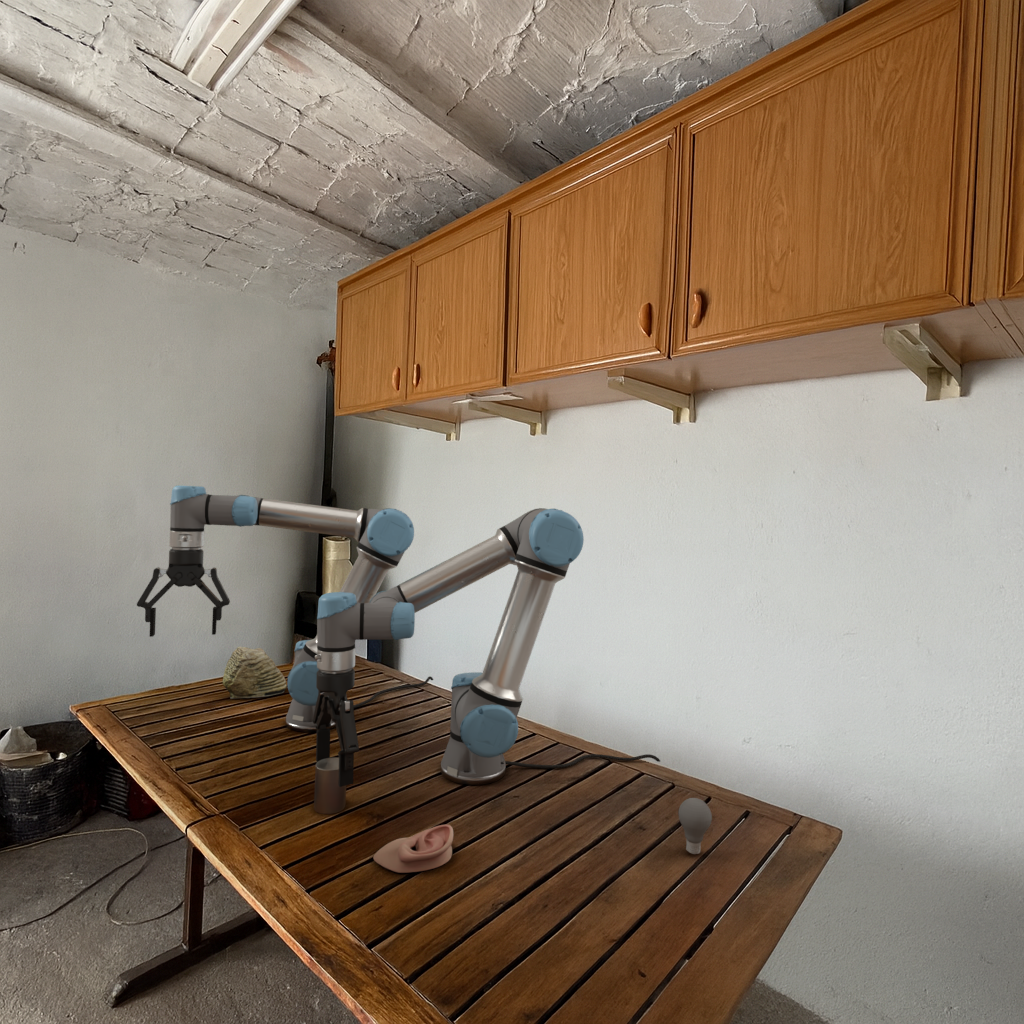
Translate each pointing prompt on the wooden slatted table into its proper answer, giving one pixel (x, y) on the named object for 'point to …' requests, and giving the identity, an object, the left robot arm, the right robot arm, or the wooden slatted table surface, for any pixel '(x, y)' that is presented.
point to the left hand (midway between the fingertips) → (183, 634)
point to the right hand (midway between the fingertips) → (333, 772)
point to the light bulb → (694, 822)
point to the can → (328, 787)
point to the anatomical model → (417, 851)
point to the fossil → (252, 674)
